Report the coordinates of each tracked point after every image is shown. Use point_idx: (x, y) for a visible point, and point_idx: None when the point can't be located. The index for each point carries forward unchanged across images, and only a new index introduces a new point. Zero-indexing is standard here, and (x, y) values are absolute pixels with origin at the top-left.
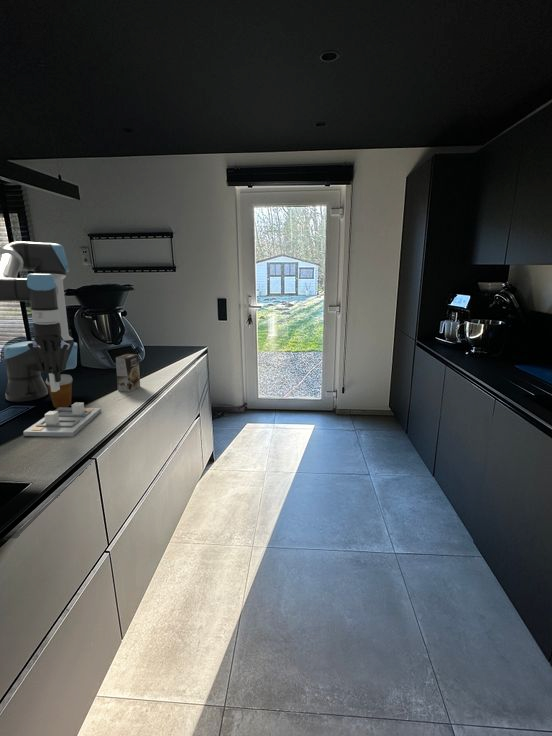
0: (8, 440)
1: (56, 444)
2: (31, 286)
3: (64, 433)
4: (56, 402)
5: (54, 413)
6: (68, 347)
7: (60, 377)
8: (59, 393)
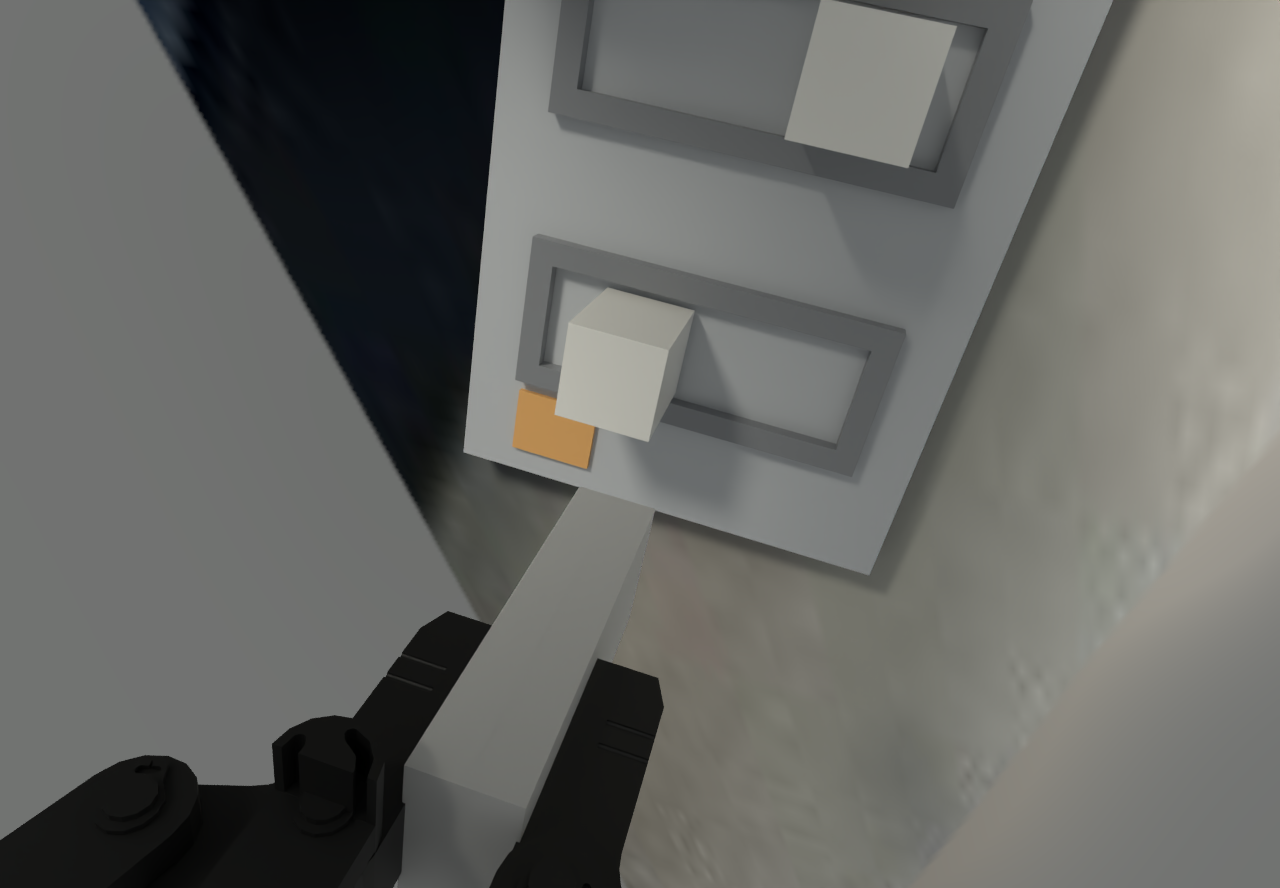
0: (416, 487)
1: (770, 643)
2: None
3: (800, 547)
4: None
5: (650, 414)
6: None
7: (648, 755)
8: None
